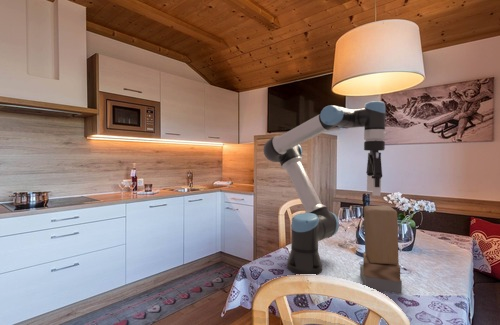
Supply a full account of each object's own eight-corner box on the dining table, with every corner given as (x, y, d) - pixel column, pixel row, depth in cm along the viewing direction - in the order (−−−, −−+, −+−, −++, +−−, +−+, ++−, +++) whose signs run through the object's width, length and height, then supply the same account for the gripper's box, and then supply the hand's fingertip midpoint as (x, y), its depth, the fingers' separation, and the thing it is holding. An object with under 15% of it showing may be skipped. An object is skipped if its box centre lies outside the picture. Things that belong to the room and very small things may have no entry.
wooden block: (391, 255, 105) (390, 205, 104) (399, 265, 95) (397, 210, 95) (364, 254, 107) (363, 205, 107) (369, 263, 98) (367, 210, 97)
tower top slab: (363, 275, 99) (363, 262, 99) (363, 263, 110) (363, 252, 110) (400, 282, 94) (400, 268, 94) (396, 268, 105) (396, 256, 105)
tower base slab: (365, 290, 98) (366, 277, 98) (360, 276, 110) (360, 264, 109) (401, 294, 95) (401, 280, 95) (391, 279, 107) (392, 267, 107)
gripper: (392, 138, 93) (390, 198, 94) (378, 142, 117) (377, 189, 118) (369, 138, 95) (368, 197, 96) (360, 142, 119) (359, 188, 120)
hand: (373, 193), depth 107 cm, fingers open, 13 cm apart
